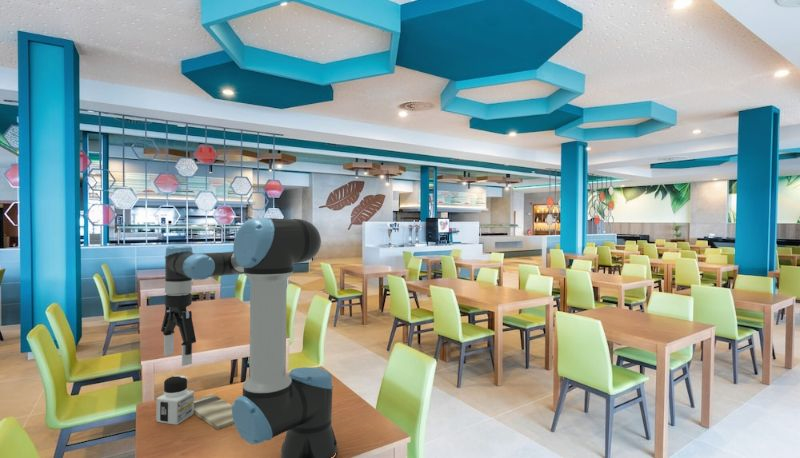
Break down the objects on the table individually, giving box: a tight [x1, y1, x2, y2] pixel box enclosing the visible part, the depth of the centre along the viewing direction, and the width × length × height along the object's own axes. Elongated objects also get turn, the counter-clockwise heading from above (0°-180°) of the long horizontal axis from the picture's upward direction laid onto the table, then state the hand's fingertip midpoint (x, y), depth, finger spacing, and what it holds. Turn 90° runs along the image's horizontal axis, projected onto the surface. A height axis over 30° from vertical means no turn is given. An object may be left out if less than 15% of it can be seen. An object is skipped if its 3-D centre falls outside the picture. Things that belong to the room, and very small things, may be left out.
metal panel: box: [193, 393, 235, 431], centre depth 137 cm, size 24×10×1 cm, turn 50°
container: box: [155, 375, 195, 426], centre depth 132 cm, size 8×8×13 cm
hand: (177, 359), depth 133 cm, fingers open, 13 cm apart
